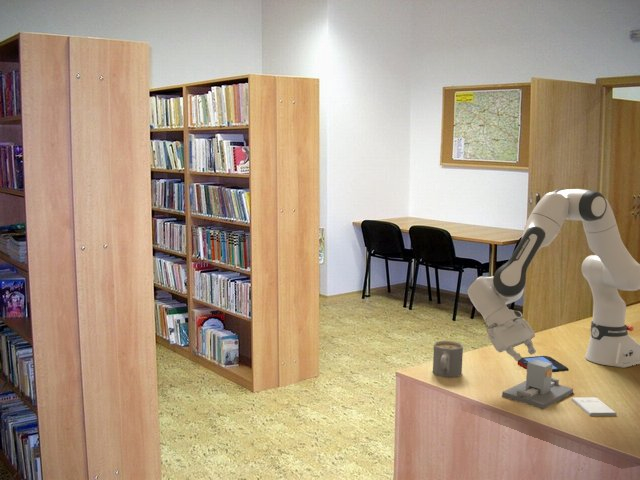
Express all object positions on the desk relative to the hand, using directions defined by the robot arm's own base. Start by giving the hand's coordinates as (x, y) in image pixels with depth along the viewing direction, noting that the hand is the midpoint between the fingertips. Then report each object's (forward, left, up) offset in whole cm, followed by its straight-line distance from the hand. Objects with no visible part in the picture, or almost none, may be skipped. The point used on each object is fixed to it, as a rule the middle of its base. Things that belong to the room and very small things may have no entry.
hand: (526, 356), depth 219 cm
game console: (-21, -19, -12) cm, 31 cm away
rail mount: (-2, +4, -12) cm, 12 cm away
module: (-2, +4, -10) cm, 11 cm away
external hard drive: (-12, +18, -12) cm, 25 cm away
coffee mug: (+17, -22, -12) cm, 30 cm away
